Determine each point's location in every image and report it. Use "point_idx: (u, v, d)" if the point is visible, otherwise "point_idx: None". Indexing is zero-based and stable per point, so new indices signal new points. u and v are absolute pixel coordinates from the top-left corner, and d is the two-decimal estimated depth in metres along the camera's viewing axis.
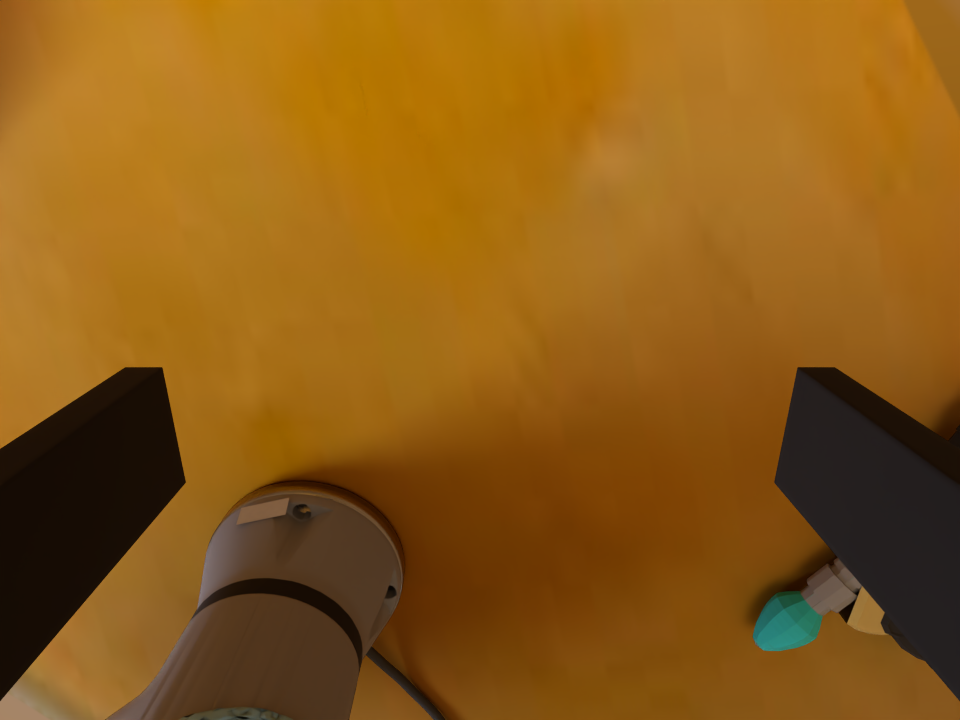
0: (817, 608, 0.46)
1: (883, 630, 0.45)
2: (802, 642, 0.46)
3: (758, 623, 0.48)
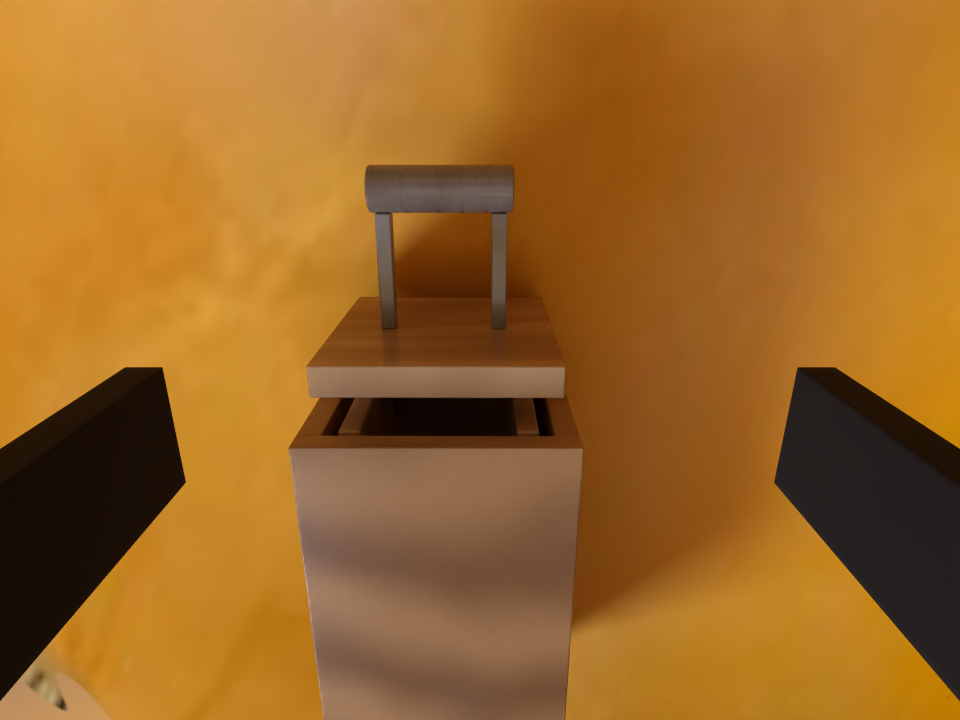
0: None
1: None
2: None
3: None
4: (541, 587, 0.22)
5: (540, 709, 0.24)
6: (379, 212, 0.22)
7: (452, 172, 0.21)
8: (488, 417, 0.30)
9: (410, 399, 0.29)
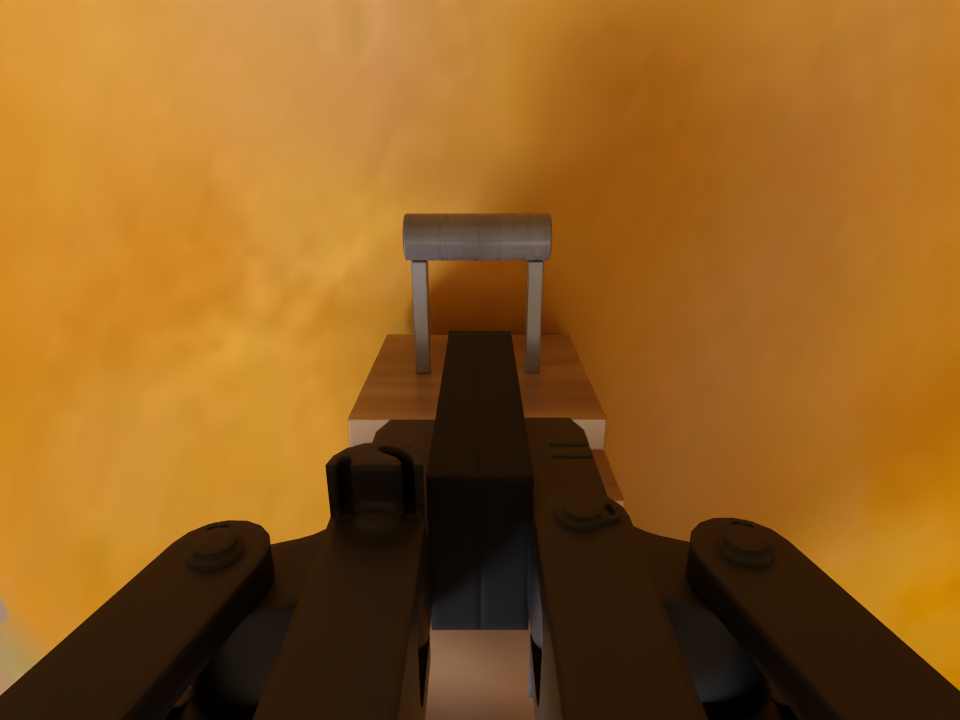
0: None
1: None
2: None
3: None
4: None
5: None
6: (416, 260, 0.22)
7: (490, 222, 0.21)
8: None
9: None
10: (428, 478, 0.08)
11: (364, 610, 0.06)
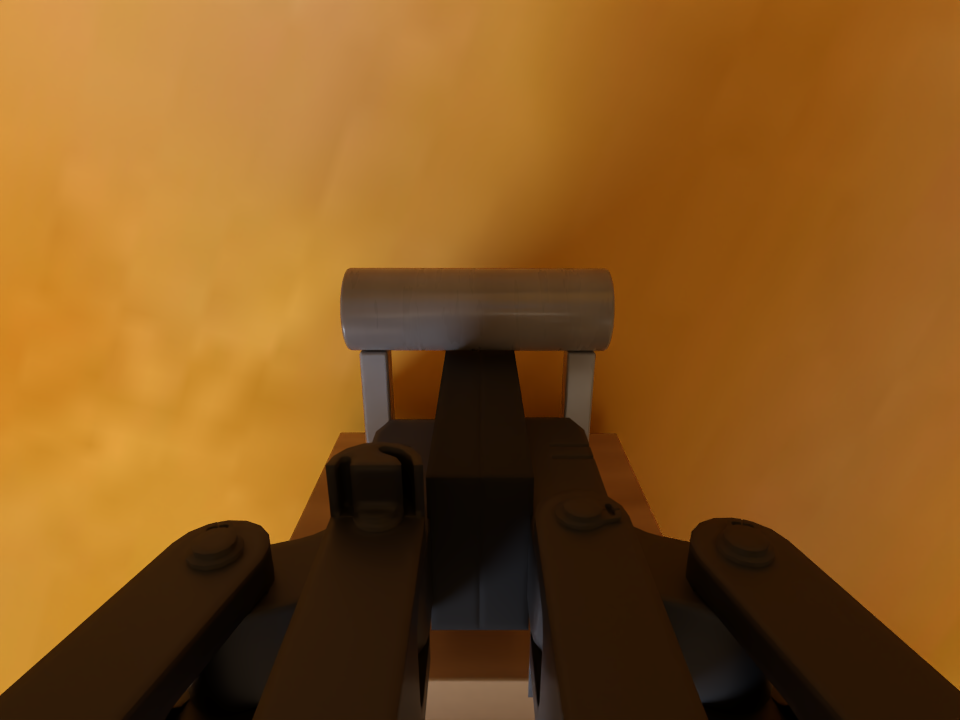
0: None
1: None
2: None
3: None
4: None
5: None
6: (368, 350, 0.13)
7: (502, 288, 0.12)
8: None
9: None
10: (428, 478, 0.08)
11: (363, 610, 0.06)
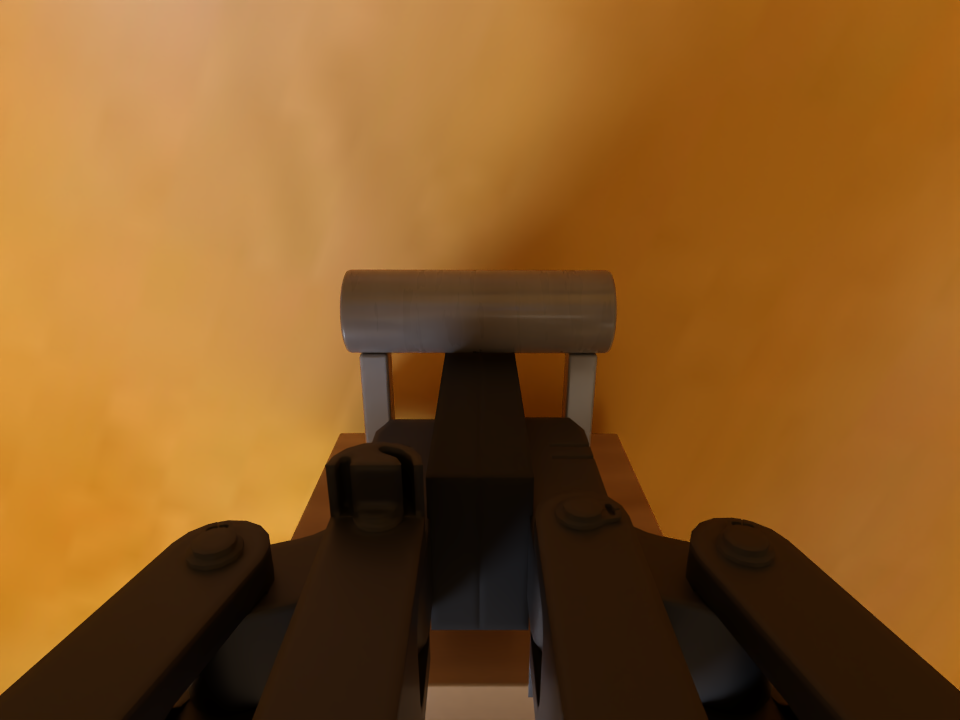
0: None
1: None
2: None
3: None
4: None
5: None
6: (368, 352, 0.12)
7: (503, 290, 0.12)
8: None
9: None
10: (428, 478, 0.08)
11: (364, 610, 0.06)
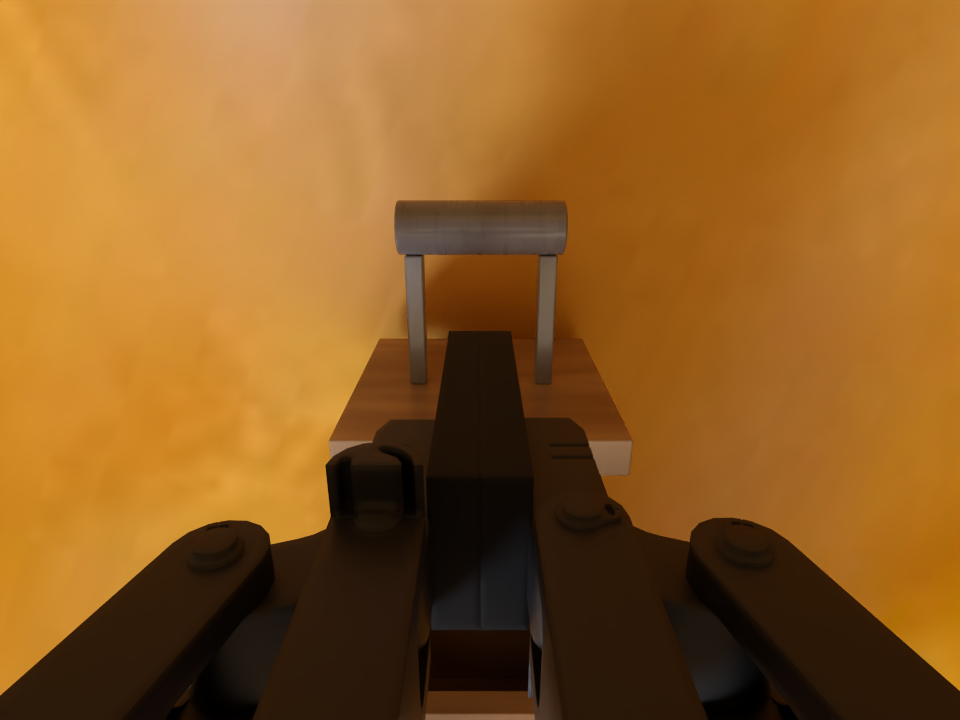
0: None
1: None
2: None
3: None
4: None
5: None
6: (410, 254, 0.19)
7: (496, 210, 0.18)
8: None
9: None
10: (428, 478, 0.08)
11: (364, 610, 0.06)
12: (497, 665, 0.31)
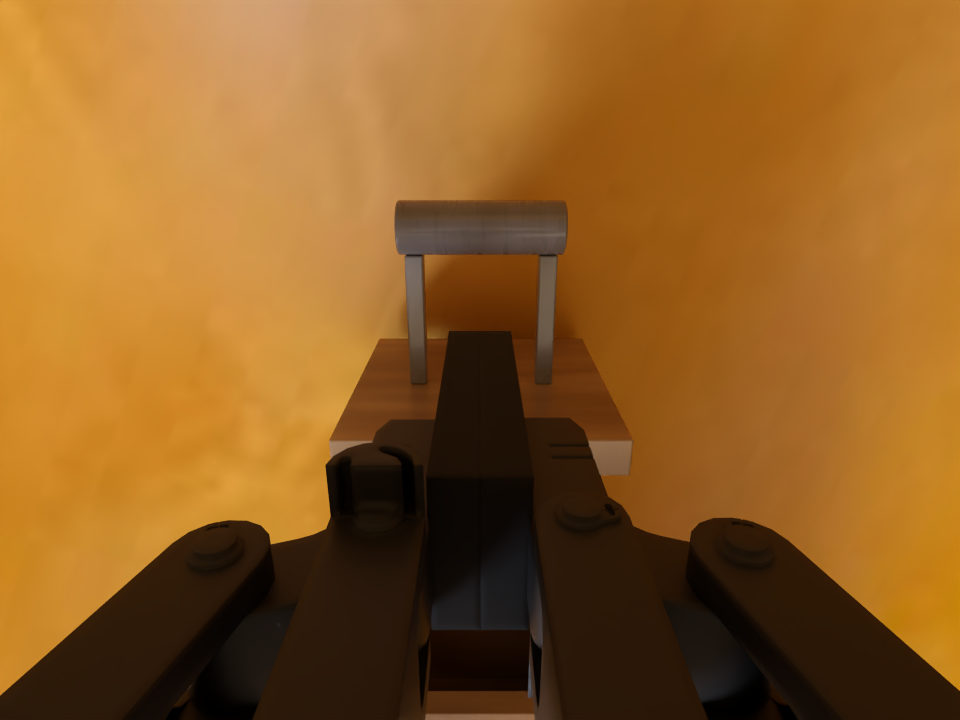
0: None
1: None
2: None
3: None
4: None
5: None
6: (410, 254, 0.19)
7: (496, 210, 0.18)
8: None
9: None
10: (428, 478, 0.08)
11: (364, 610, 0.06)
12: (497, 665, 0.31)
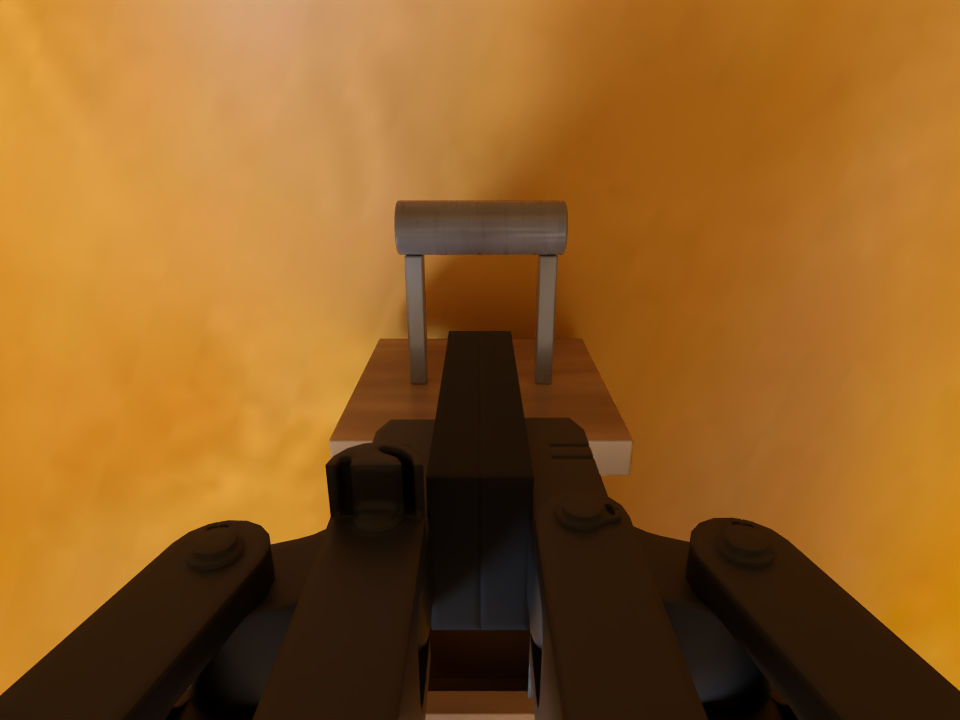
0: None
1: None
2: None
3: None
4: None
5: None
6: (410, 254, 0.19)
7: (496, 210, 0.18)
8: None
9: None
10: (428, 478, 0.08)
11: (364, 610, 0.06)
12: (497, 665, 0.31)
